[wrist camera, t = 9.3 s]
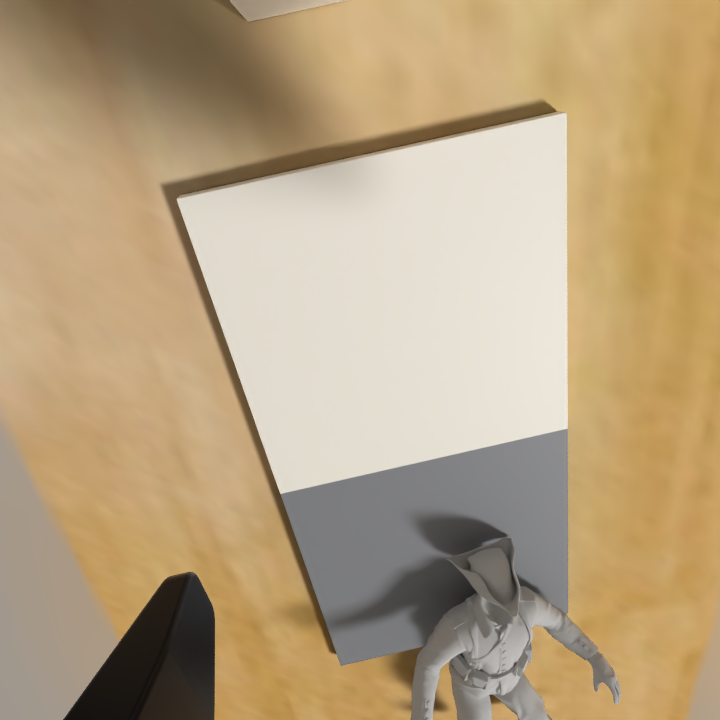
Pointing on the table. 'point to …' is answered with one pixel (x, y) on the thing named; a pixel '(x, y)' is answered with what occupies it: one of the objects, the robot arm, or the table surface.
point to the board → (405, 365)
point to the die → (275, 7)
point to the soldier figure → (496, 642)
